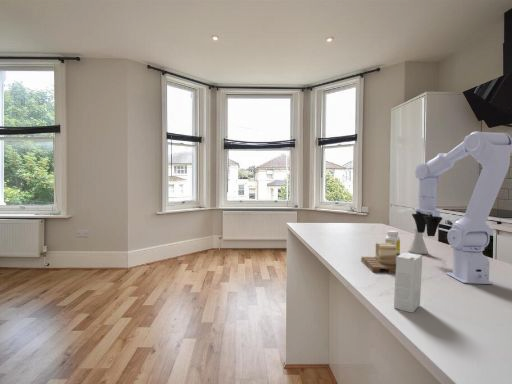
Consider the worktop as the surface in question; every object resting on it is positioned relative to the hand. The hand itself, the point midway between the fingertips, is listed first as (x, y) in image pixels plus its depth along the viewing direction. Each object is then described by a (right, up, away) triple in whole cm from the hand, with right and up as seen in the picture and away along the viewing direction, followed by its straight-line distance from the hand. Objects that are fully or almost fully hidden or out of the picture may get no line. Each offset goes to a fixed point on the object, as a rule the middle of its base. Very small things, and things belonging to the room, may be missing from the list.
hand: (425, 234), depth 112 cm
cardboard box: (-18, -9, -7) cm, 21 cm away
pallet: (-18, -10, -6) cm, 21 cm away
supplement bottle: (-7, -10, +11) cm, 17 cm away
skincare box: (-27, -12, -41) cm, 50 cm away
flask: (+6, -10, +17) cm, 21 cm away
